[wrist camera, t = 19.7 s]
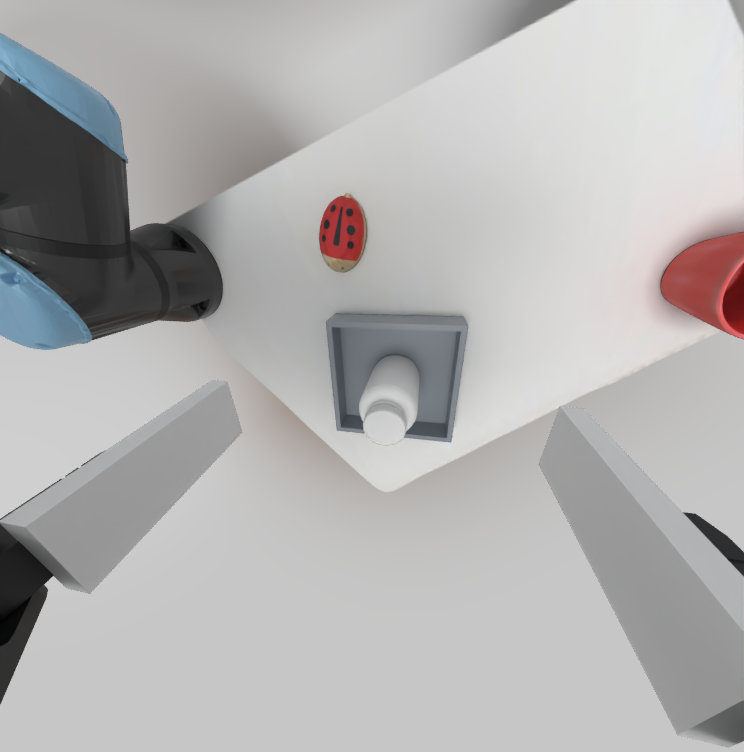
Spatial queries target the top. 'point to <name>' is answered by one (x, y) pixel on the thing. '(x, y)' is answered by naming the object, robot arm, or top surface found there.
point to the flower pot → (710, 282)
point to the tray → (405, 338)
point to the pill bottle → (390, 400)
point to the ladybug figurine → (342, 233)
